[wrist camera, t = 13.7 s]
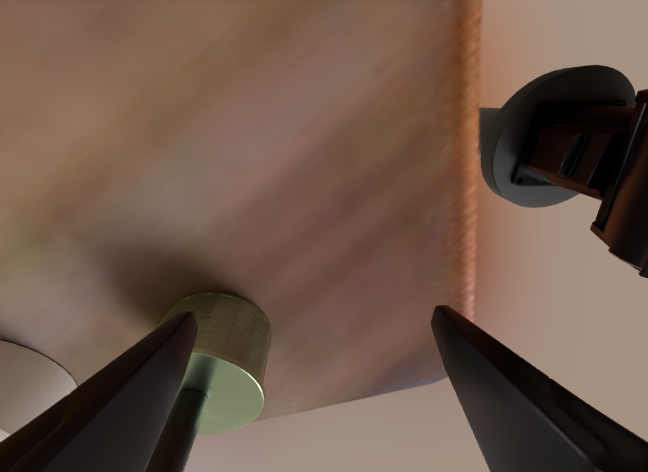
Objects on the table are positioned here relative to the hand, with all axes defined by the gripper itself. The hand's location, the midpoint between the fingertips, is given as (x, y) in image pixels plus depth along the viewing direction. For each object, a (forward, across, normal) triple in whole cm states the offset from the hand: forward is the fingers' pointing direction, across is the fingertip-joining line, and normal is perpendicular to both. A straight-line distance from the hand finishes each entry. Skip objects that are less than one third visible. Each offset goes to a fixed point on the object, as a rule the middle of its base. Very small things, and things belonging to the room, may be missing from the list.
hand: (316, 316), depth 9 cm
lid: (+6, +10, +14) cm, 18 cm away
